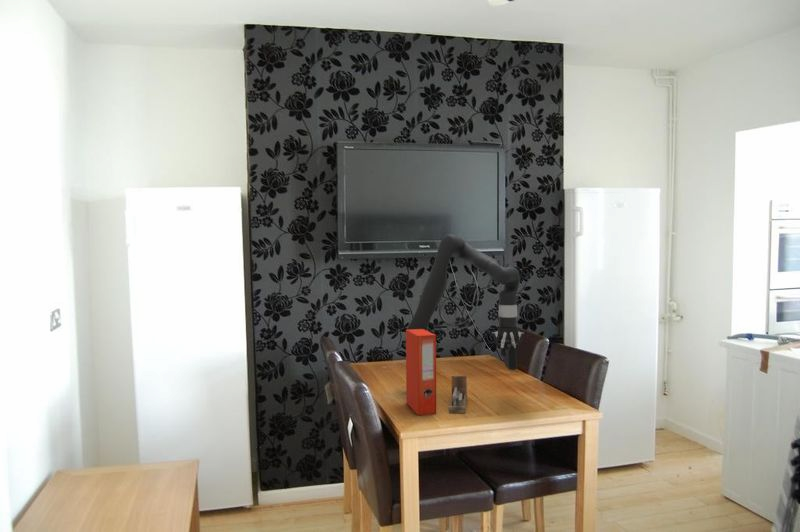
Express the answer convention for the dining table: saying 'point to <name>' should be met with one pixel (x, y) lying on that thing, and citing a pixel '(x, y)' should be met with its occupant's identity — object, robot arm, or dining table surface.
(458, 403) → the offcut stack
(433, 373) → the file binder
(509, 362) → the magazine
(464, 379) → the rack
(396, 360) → the dining table surface
